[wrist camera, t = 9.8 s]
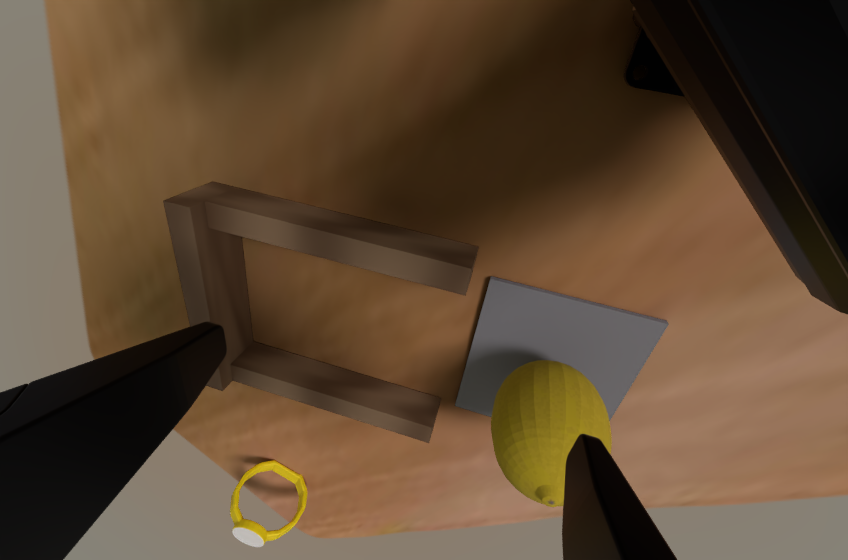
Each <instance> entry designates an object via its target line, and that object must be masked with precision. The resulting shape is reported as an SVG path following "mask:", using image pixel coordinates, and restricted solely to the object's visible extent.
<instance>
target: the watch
mask: <svg viewBox="0 0 848 560" xmlns="http://www.w3.org/2000/svg"><path fill="white" fill-rule="evenodd" d="M269 470H273V471H274V472H276V473H278V474H279V475H281V476H283V477H284V478H286V479H288V480H289V481H291V482H293V483H294V484H295V485H296V489H297V492H298V495H299V502H298V509H297V513H296V515H295V516H294V518H293V519H292V521H291V522H290V523H288V524H287V525H285V526H284V527H282V528H281V529H279V530H273V531H266V530H265V528H264V527H262V526H261V525H260V524H258V523H256V522H254V521H251V520H247V519H243V516H242V514H241V512H240V509H239V507H238V503H239V492H240V489H241V487H242V486H243V484H244V482H245V481H246V480H248V479H249V478H251V477H252V476H253V475H255V474H256V473H258V472H263V471H269ZM306 500H307V488H306V485H305V482H304V479H303V476H302V475H301V474H300V475H299V474H298V473H296V472H294V471H292V470H290V469H289V468H287V467H285V466H284V465H282V464H280V463H279V462H277V461H276V460H272V461H266V462H261V463H260V464H259V463H258V464H257V465H255V466H254V467H253V468H251V469H250V470H248V471H247V472H246V473H245V474H244V475H243V477H242V478H241V480H240V481H239V483H238V485H237V486H236V488H235V490H234V492H233V495H232V498H231V507H230V512H231V517H232V520H233V522H234V525H235V526H234V527H233V530H232V532H233V535H234V536H235V537H236V538H237V539H239V540H240V541H241V542H243V543H245V544H247V545H250V546H253V547H261V546H263V545H264V544H265V542H266V541H270V540H275V539H278V538H279V537H281V536H282V535H284V534H285V533H287V532H288V531H290V530H291V529H292V528H293V526H294V525H295V524H296V523H297V521H298V520H299V518H300V516H301V515H302V513H303V511H304V510H305V509H304V508H305V507H306Z"/></svg>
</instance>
